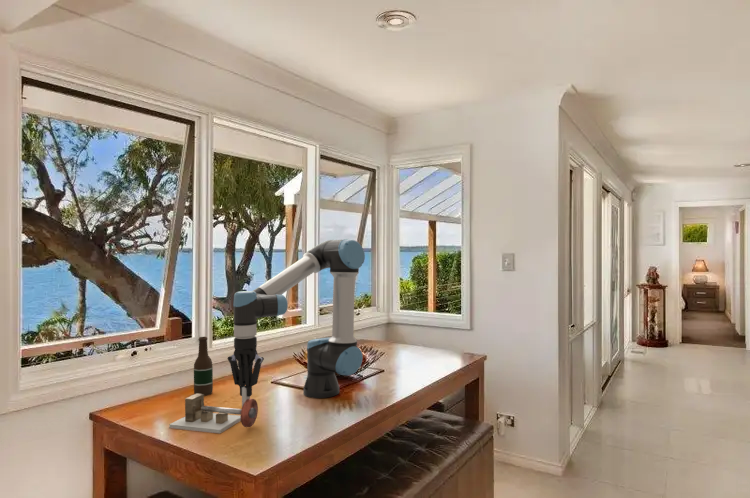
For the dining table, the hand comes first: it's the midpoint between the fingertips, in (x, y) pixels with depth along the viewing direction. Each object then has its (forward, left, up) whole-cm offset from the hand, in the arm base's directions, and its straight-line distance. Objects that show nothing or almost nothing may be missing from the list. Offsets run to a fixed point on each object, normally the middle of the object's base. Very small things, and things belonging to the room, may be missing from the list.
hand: (246, 405), depth 167 cm
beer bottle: (+39, -31, -8) cm, 50 cm away
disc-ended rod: (+7, 0, -7) cm, 10 cm away
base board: (+15, 0, -8) cm, 17 cm away
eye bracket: (+15, 0, -6) cm, 16 cm away
